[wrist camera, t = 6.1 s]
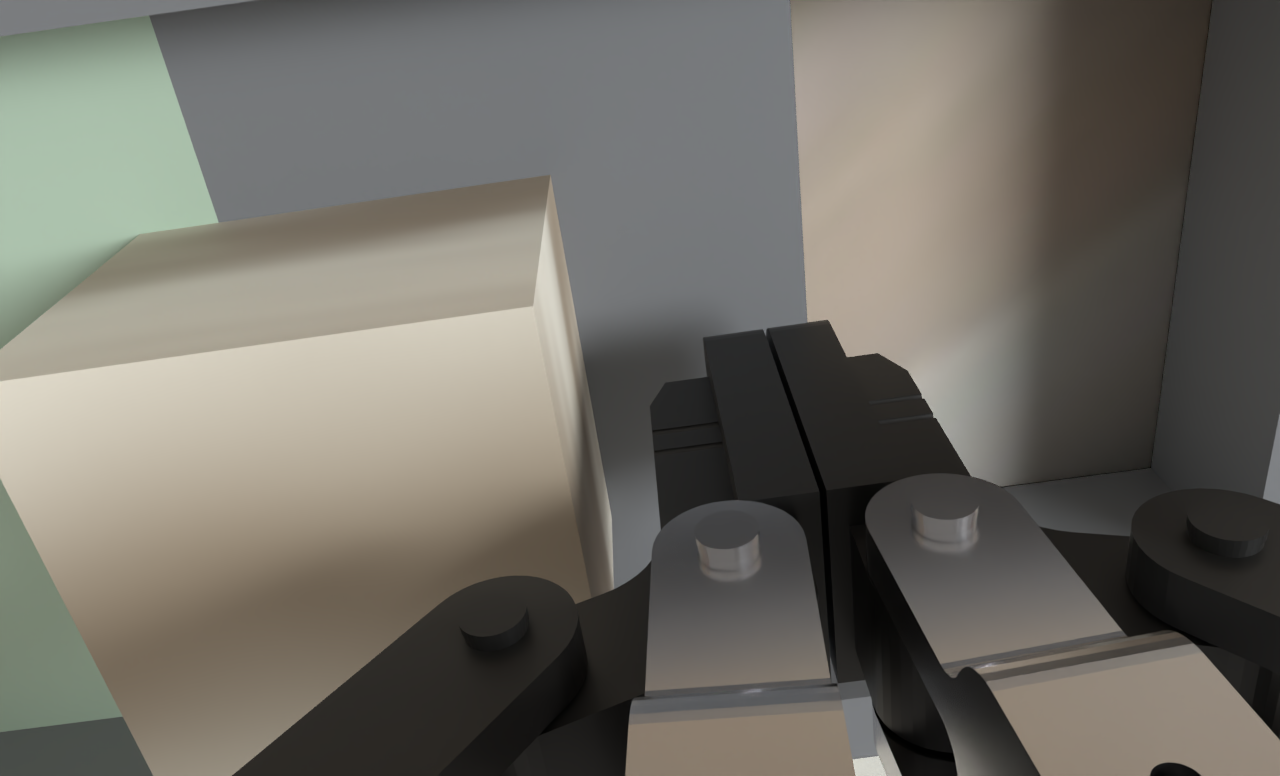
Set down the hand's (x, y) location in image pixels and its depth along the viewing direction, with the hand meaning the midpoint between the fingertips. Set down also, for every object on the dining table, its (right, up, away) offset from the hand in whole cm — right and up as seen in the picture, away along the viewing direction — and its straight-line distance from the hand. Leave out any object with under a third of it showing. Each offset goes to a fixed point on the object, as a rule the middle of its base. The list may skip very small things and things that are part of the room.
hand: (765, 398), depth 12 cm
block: (-5, 0, +1) cm, 5 cm away
